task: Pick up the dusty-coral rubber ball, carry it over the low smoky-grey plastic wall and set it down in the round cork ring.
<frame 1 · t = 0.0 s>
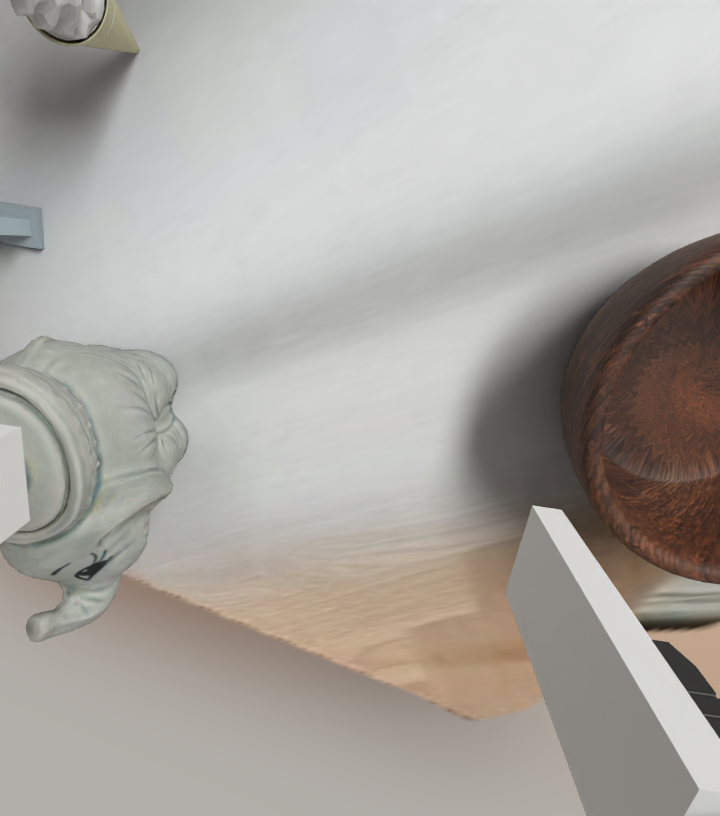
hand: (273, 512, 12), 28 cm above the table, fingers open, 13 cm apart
teapot: (139, 428, 43), on the table
ice cream cone: (136, 50, 33), on the table
wooden bowl: (686, 380, 39), on the table
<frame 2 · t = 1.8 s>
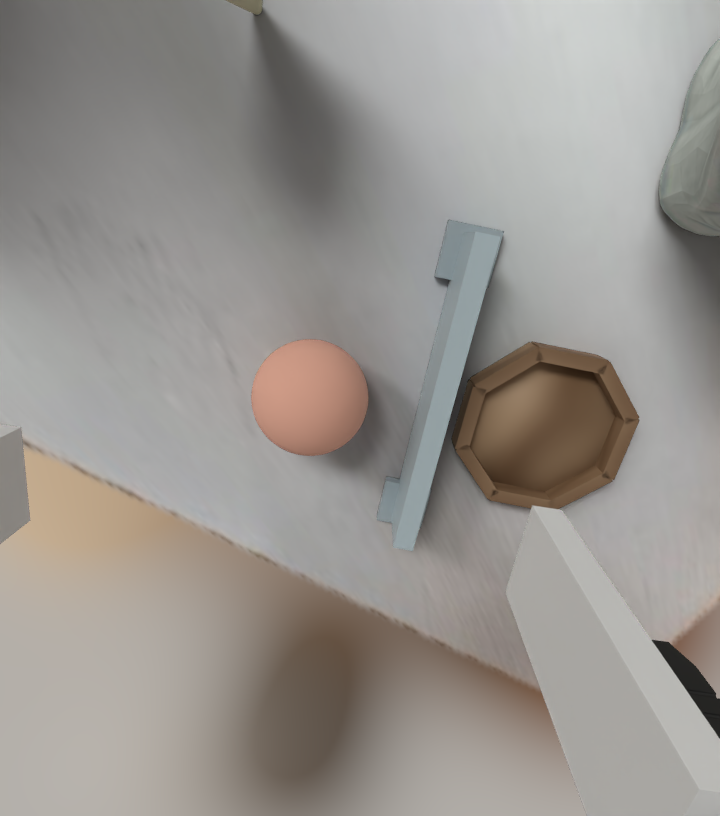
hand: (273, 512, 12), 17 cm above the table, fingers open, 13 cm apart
cork ring: (537, 425, 29), on the table
ice cream cone: (257, 10, 23), on the table
low wall: (432, 388, 29), on the table
ball: (317, 381, 29), on the table
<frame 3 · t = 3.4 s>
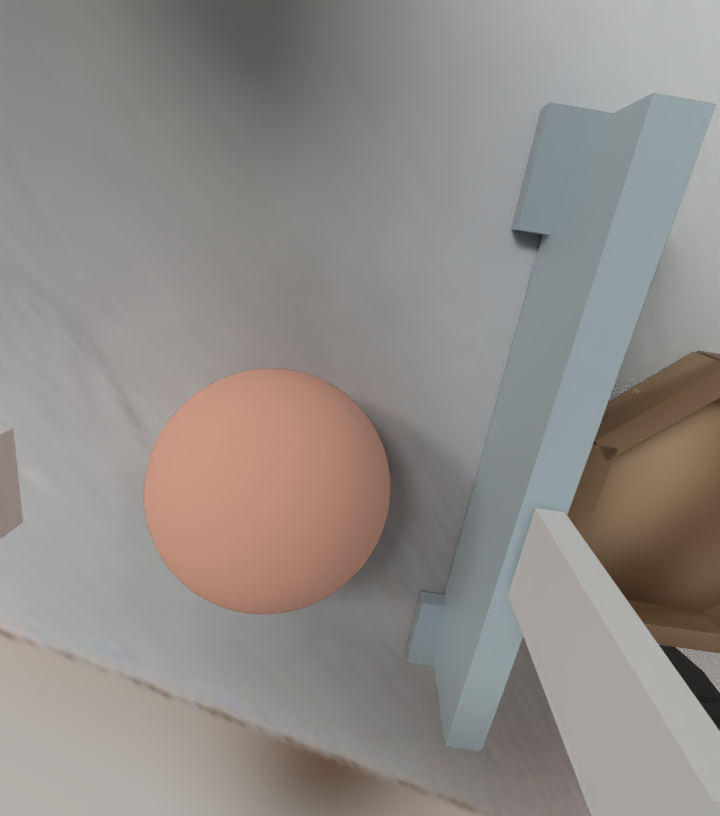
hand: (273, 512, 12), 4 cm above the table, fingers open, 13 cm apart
cork ring: (695, 500, 16), on the table
low wall: (503, 443, 16), on the table
ball: (292, 438, 16), on the table
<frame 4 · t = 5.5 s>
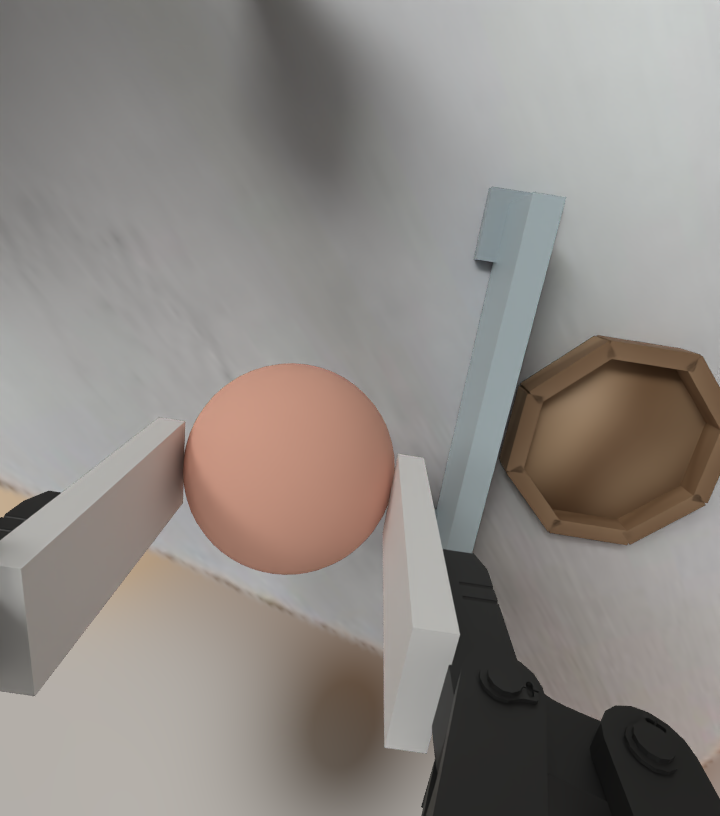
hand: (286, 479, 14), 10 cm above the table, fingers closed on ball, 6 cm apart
cork ring: (605, 438, 24), on the table
low wall: (474, 398, 24), on the table
ball: (304, 428, 18), point 6 cm above the table, touching gripper
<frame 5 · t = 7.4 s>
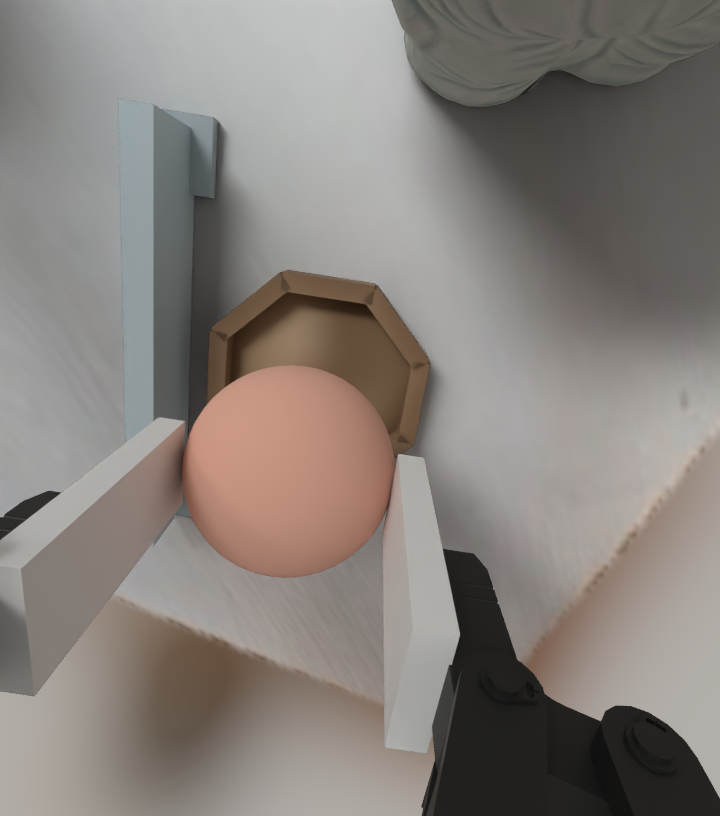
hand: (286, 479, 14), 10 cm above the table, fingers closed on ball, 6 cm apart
cork ring: (319, 380, 23), on the table
low wall: (178, 339, 23), on the table
ball: (304, 429, 18), point 6 cm above the table, touching gripper
when the fingers open (3 cm above the table, at t = 9.5 s): ball stays where it is, resting on cork ring.
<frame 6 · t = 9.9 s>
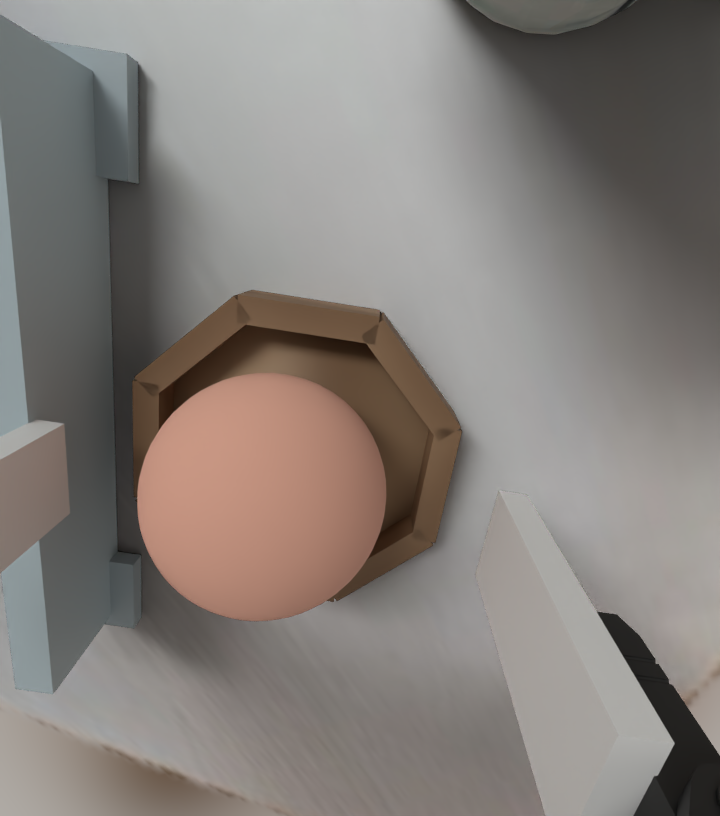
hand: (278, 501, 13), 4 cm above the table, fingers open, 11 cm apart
cork ring: (298, 446, 16), on the table
low wall: (95, 387, 16), on the table
ball: (300, 455, 16), resting on cork ring, tilted 9°
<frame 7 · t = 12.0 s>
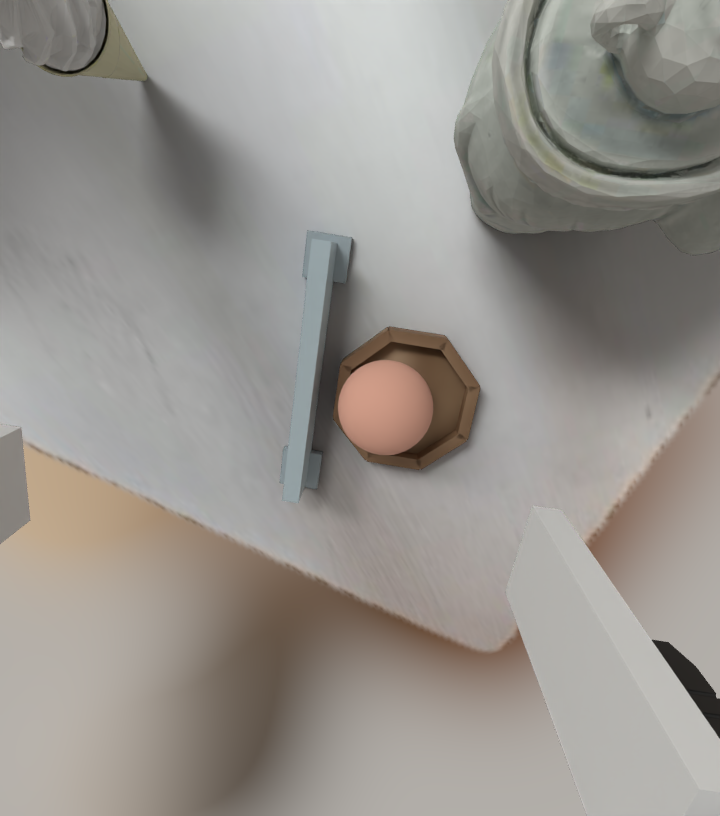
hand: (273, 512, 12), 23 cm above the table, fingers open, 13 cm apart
cork ring: (404, 397, 35), on the table
teapot: (596, 149, 30), on the table
ice cream cone: (144, 77, 30), on the table
low wall: (313, 369, 35), on the table
ball: (404, 402, 34), point 1 cm above the table, tilted 28°, touching cork ring
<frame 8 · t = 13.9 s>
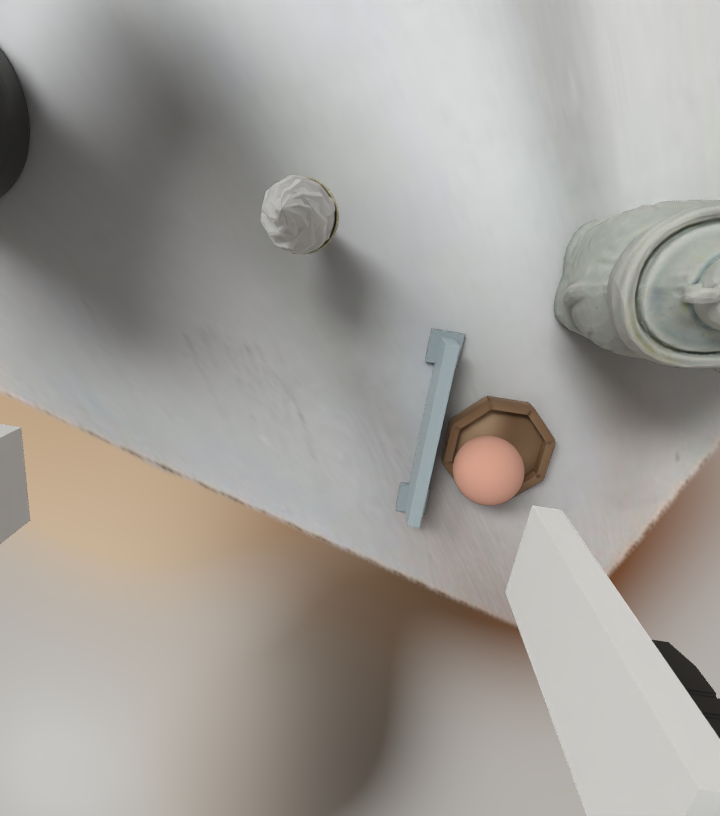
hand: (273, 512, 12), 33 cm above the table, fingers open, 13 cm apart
cork ring: (495, 446, 47), on the table
teapot: (645, 274, 41), on the table
ice cream cone: (317, 222, 41), on the table
low wall: (427, 426, 46), on the table
ball: (496, 452, 46), point 1 cm above the table, tilted 28°, touching cork ring
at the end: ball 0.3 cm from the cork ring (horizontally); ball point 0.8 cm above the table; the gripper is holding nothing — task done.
